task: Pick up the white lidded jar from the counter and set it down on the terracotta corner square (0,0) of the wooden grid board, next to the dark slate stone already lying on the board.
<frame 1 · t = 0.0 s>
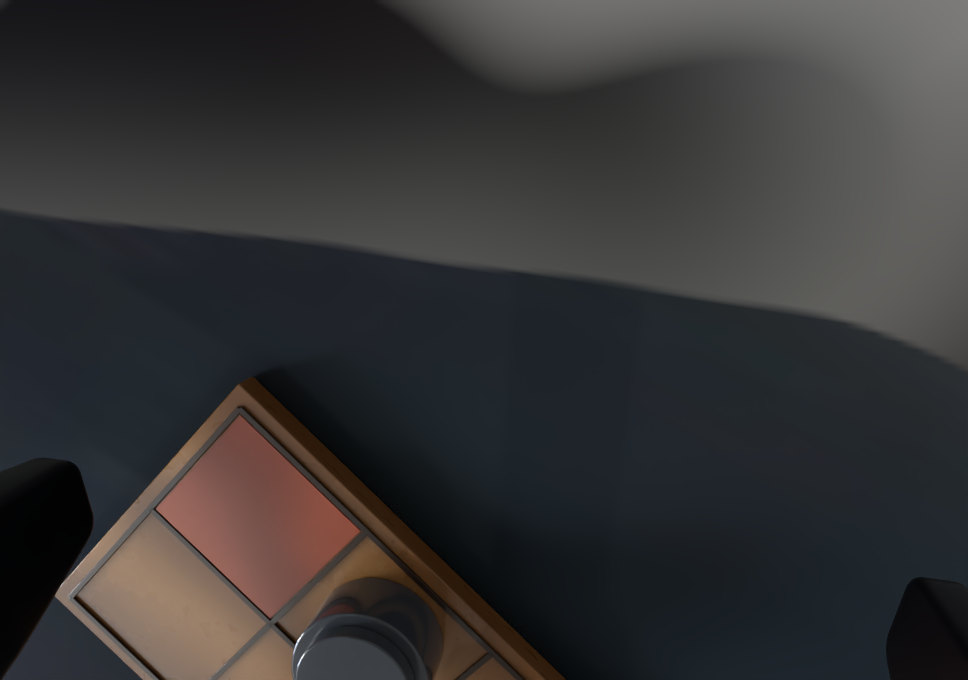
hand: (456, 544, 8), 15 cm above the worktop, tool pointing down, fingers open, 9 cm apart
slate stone: (379, 636, 25), point 1 cm above the worktop, touching wooden grid board
wooden grid board: (341, 661, 27), on the worktop
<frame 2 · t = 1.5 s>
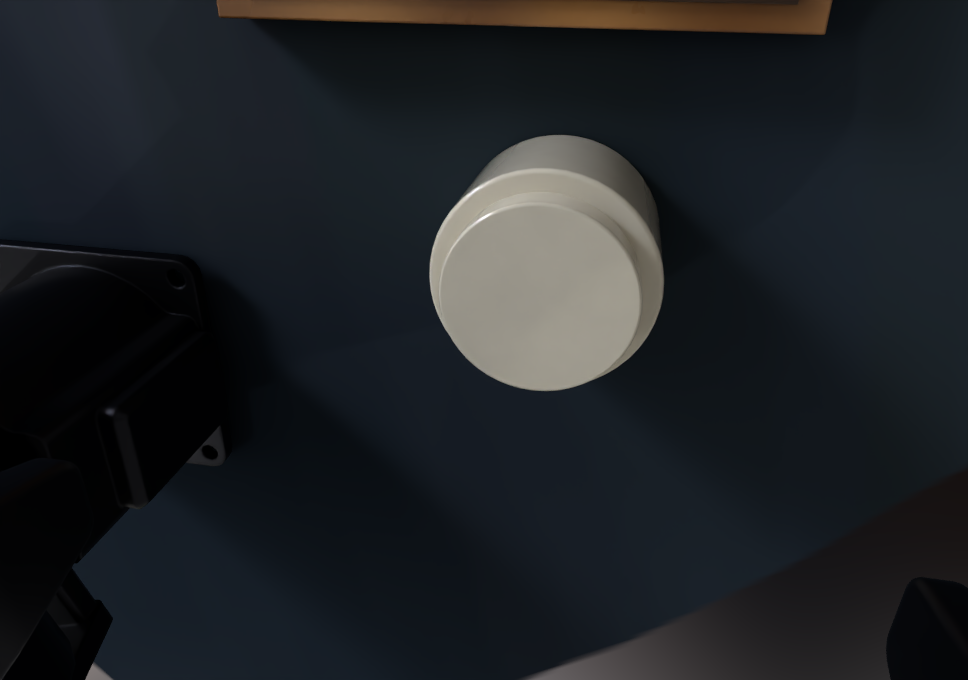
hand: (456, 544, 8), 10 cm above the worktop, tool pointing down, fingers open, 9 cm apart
white lidded jar: (558, 234, 17), on the worktop
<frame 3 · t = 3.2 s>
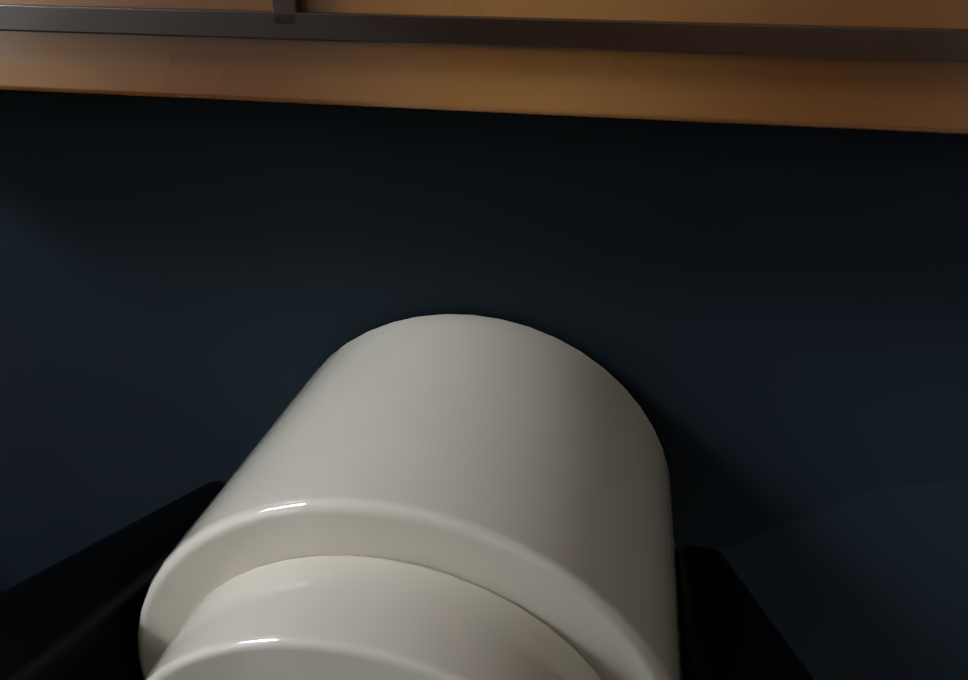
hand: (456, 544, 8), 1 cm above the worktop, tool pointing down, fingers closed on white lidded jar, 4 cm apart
white lidded jar: (472, 485, 9), on the worktop, touching gripper
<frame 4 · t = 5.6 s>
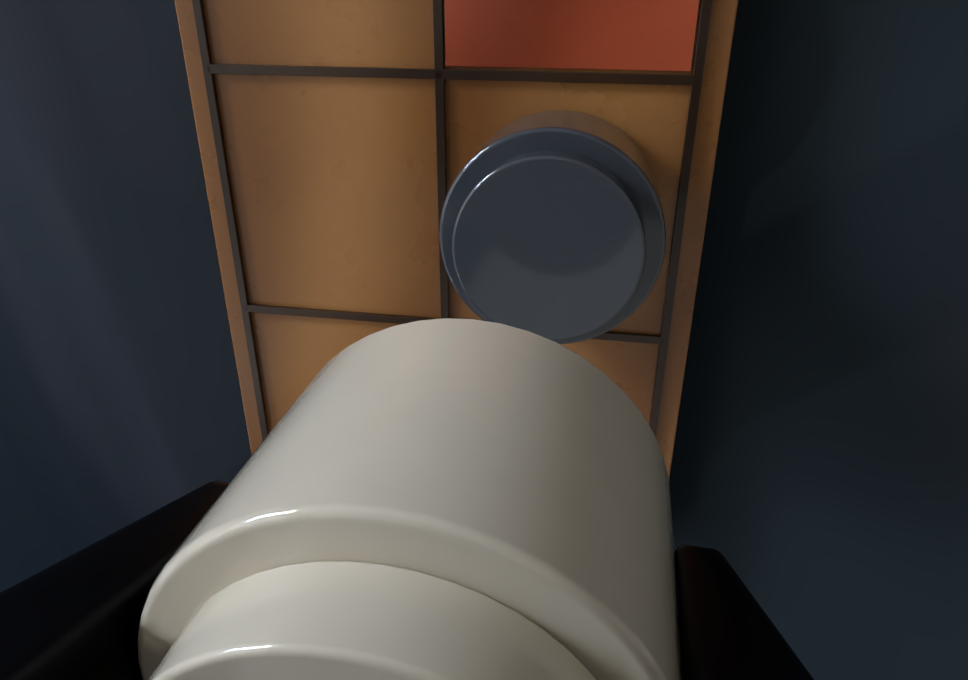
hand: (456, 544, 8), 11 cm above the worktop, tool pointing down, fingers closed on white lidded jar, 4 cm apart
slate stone: (558, 213, 17), point 1 cm above the worktop, touching wooden grid board
wooden grid board: (452, 196, 18), on the worktop
white lidded jar: (472, 488, 9), point 10 cm above the worktop, touching gripper
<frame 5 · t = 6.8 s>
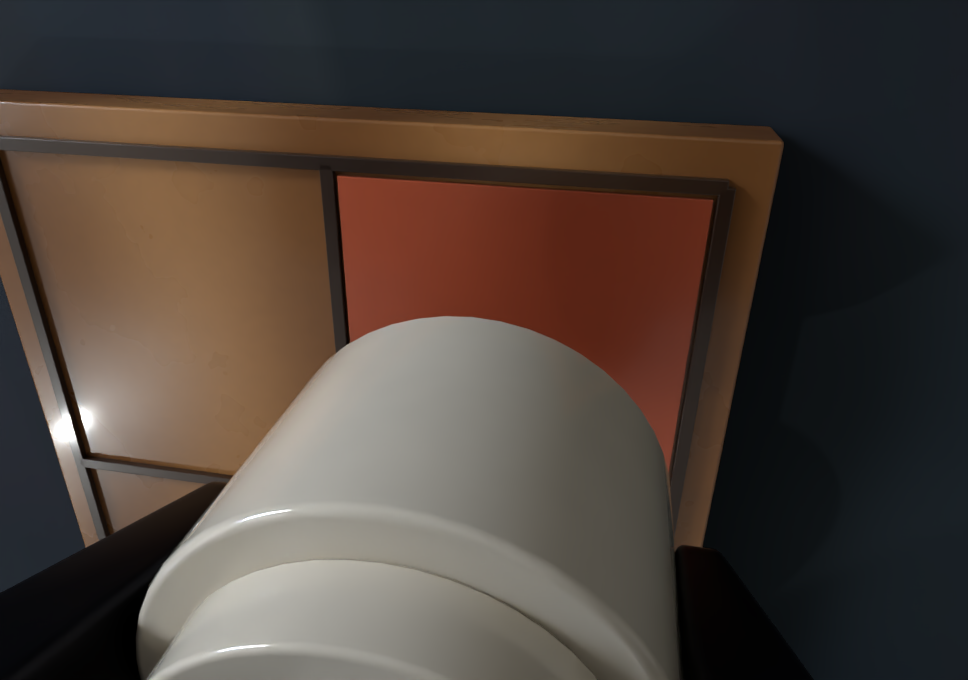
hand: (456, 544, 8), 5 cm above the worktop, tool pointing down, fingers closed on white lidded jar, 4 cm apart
wooden grid board: (381, 577, 15), on the worktop
white lidded jar: (472, 487, 9), point 4 cm above the worktop, touching gripper
when the fingers open (2 cm above the worktop, at t = 8.0 s): white lidded jar stays where it is, resting on wooden grid board.
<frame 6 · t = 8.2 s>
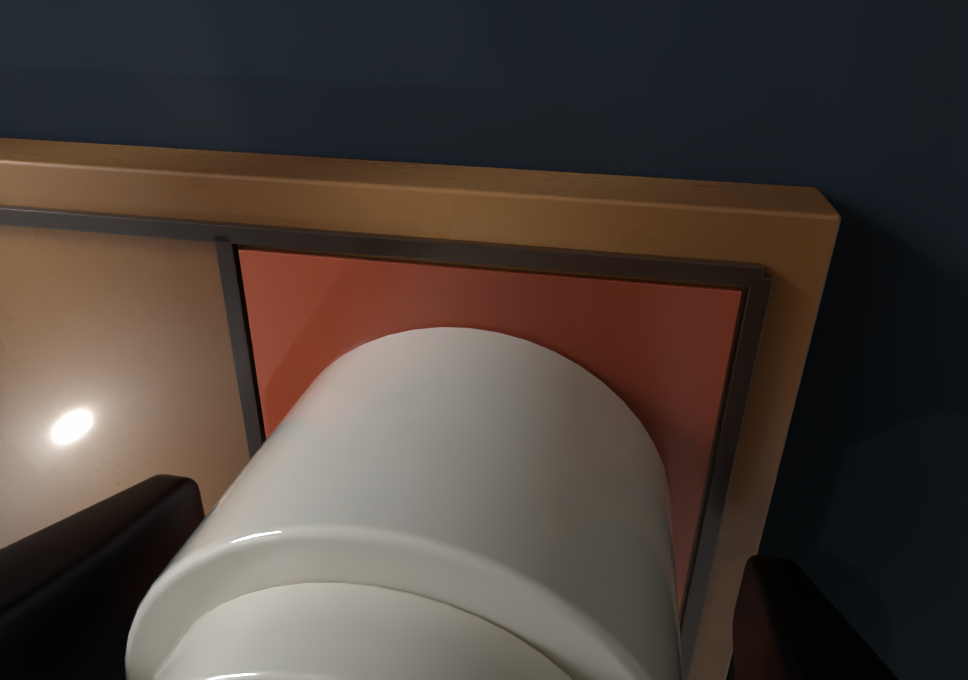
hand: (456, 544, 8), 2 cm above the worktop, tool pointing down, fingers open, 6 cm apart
white lidded jar: (470, 499, 9), point 1 cm above the worktop, touching wooden grid board
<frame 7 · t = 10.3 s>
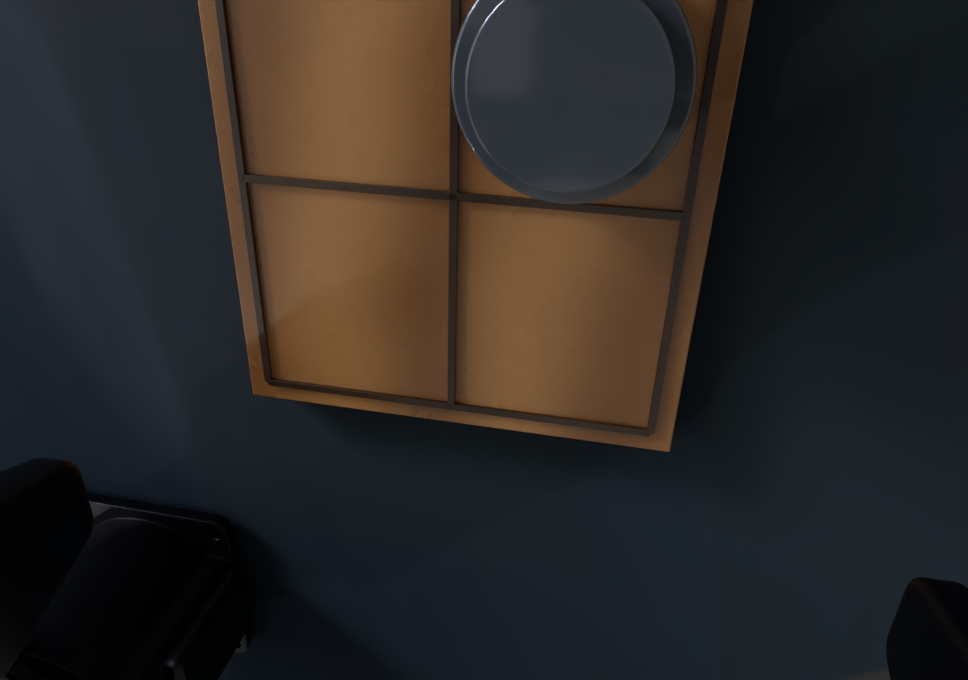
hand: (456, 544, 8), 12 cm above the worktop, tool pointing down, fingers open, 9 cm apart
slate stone: (579, 70, 15), point 1 cm above the worktop, touching wooden grid board
wooden grid board: (465, 57, 17), on the worktop
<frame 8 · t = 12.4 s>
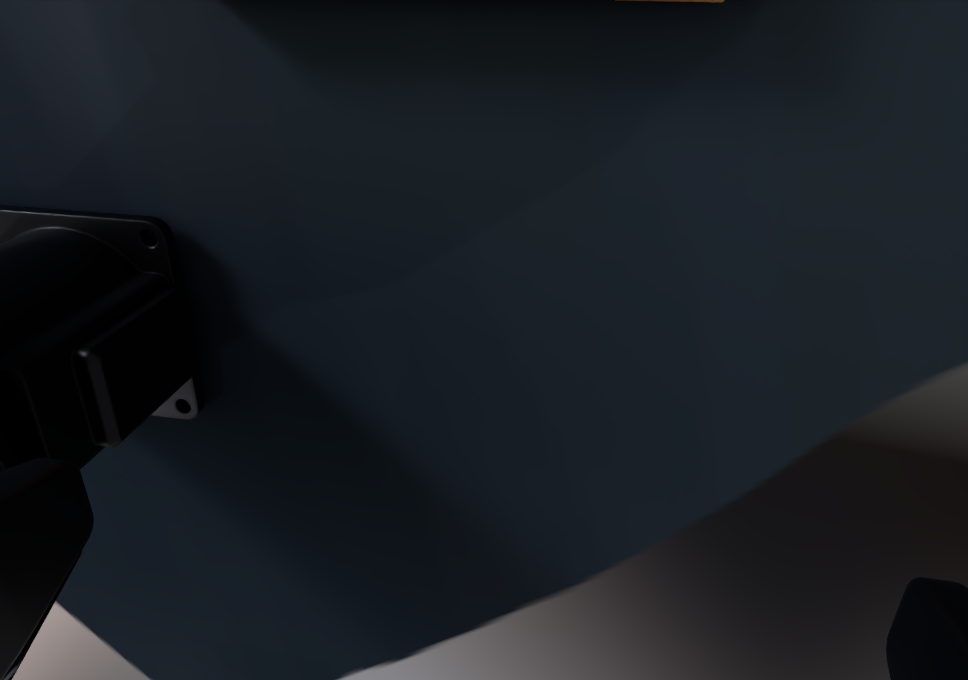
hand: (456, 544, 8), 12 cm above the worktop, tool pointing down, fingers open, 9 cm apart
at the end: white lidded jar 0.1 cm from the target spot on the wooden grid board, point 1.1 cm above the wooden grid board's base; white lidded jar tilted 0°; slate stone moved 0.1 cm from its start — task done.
